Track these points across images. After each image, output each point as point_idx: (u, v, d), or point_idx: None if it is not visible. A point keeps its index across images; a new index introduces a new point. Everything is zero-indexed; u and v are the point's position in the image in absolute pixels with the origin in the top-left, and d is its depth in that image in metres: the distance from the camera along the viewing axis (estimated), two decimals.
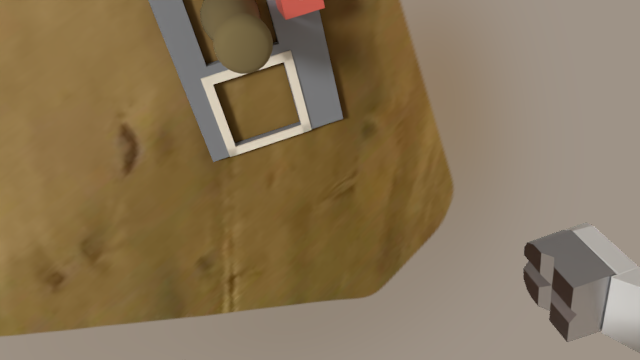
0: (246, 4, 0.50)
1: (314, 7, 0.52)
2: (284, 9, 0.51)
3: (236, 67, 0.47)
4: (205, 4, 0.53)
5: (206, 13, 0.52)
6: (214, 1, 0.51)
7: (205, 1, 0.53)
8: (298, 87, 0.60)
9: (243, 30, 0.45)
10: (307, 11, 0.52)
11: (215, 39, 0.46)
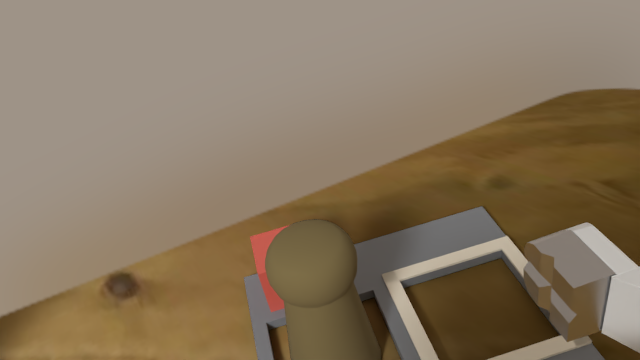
0: None
1: None
2: None
3: (334, 250, 0.28)
4: None
5: None
6: None
7: None
8: (437, 259, 0.40)
9: (276, 247, 0.29)
10: None
11: (295, 290, 0.28)
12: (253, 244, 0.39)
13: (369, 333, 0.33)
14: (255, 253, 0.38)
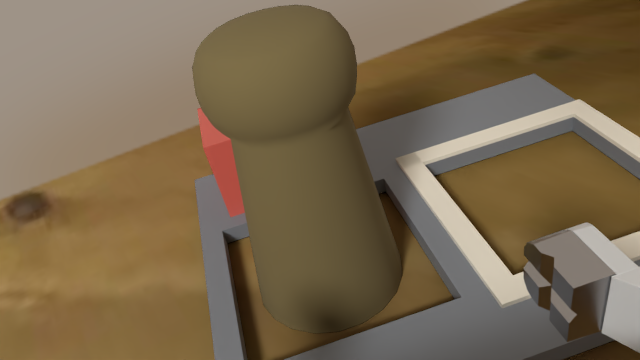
0: None
1: None
2: None
3: (312, 28, 0.15)
4: (286, 309, 0.20)
5: (290, 283, 0.19)
6: (263, 270, 0.20)
7: (286, 317, 0.20)
8: (478, 134, 0.27)
9: (210, 38, 0.16)
10: None
11: (242, 98, 0.15)
12: (201, 116, 0.26)
13: (381, 216, 0.20)
14: (202, 125, 0.25)
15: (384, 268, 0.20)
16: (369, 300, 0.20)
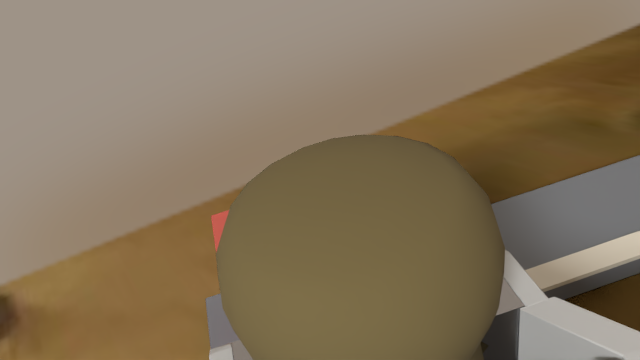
0: None
1: None
2: None
3: (443, 211, 0.08)
4: None
5: None
6: None
7: None
8: (594, 251, 0.20)
9: (249, 211, 0.09)
10: None
11: (315, 356, 0.08)
12: (216, 230, 0.19)
13: None
14: None
15: None
16: None
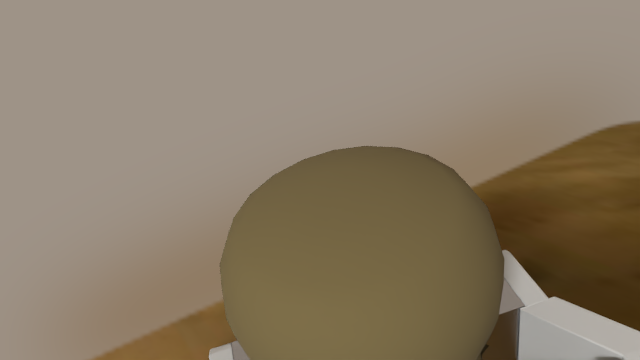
0: None
1: None
2: None
3: (444, 225, 0.08)
4: None
5: None
6: None
7: None
8: None
9: (253, 223, 0.09)
10: None
11: None
12: None
13: None
14: None
15: None
16: None
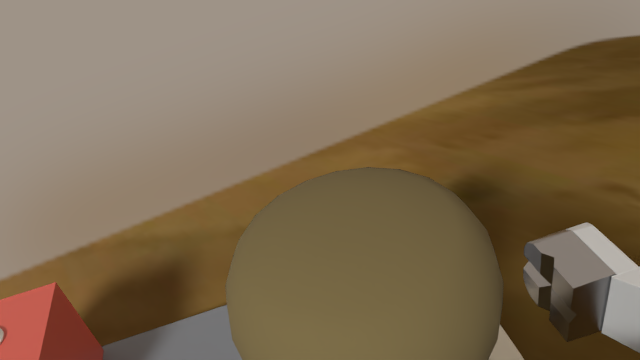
0: None
1: (41, 305, 0.18)
2: None
3: (444, 251, 0.09)
4: None
5: None
6: None
7: None
8: None
9: (258, 247, 0.10)
10: (42, 320, 0.18)
11: None
12: None
13: None
14: None
15: None
16: None
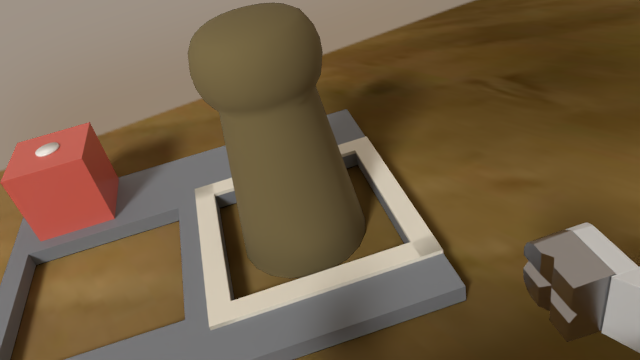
0: None
1: (81, 131, 0.29)
2: (62, 163, 0.27)
3: (283, 21, 0.19)
4: (266, 257, 0.24)
5: (268, 234, 0.23)
6: (246, 224, 0.24)
7: (265, 265, 0.24)
8: None
9: (202, 29, 0.20)
10: (83, 137, 0.28)
11: (226, 77, 0.19)
12: (16, 150, 0.29)
13: (346, 180, 0.24)
14: (12, 159, 0.28)
15: (348, 224, 0.24)
16: (335, 250, 0.24)
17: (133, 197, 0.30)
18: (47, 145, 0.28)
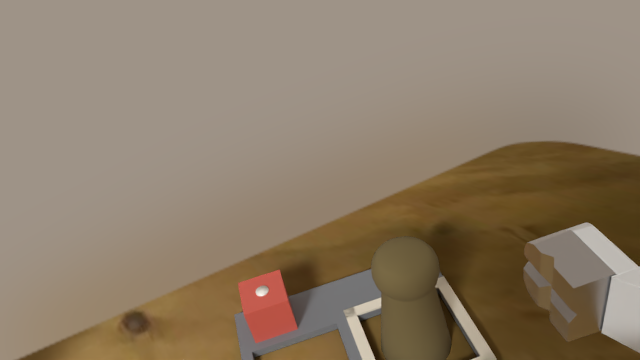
0: None
1: (277, 277, 0.49)
2: (276, 302, 0.47)
3: (425, 259, 0.40)
4: None
5: (404, 351, 0.43)
6: (390, 344, 0.44)
7: None
8: None
9: (381, 258, 0.40)
10: (281, 283, 0.49)
11: (399, 288, 0.39)
12: (240, 289, 0.49)
13: (444, 320, 0.44)
14: (242, 297, 0.48)
15: (445, 343, 0.44)
16: (438, 358, 0.44)
17: (304, 313, 0.51)
18: (260, 287, 0.49)
